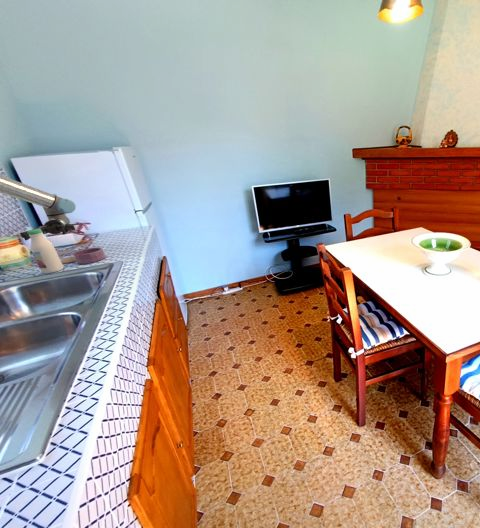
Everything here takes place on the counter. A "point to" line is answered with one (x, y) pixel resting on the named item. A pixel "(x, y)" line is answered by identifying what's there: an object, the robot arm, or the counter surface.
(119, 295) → the counter surface
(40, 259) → the milk bottle
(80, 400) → the counter surface
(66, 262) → the coaster
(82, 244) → the counter surface
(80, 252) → the bowl
